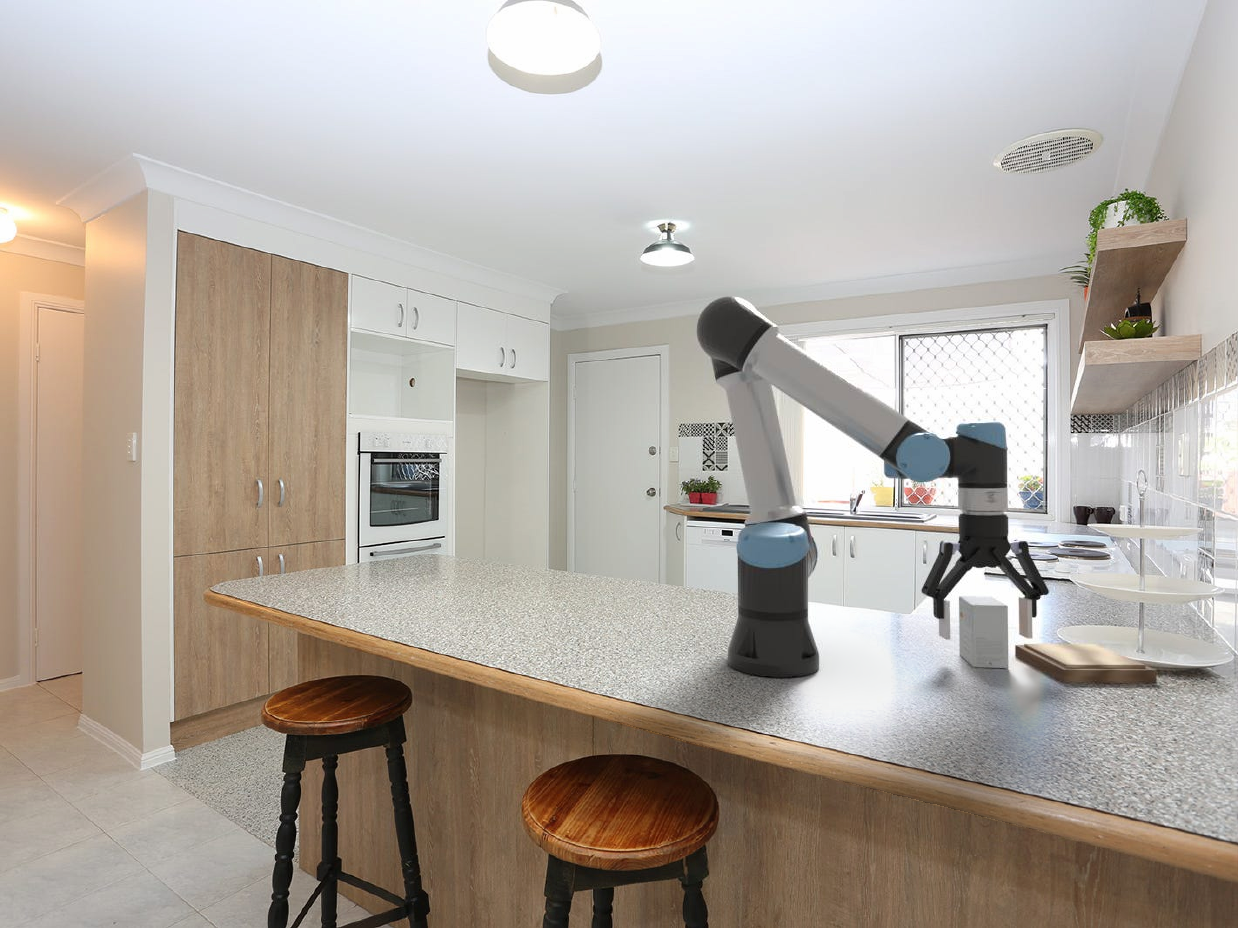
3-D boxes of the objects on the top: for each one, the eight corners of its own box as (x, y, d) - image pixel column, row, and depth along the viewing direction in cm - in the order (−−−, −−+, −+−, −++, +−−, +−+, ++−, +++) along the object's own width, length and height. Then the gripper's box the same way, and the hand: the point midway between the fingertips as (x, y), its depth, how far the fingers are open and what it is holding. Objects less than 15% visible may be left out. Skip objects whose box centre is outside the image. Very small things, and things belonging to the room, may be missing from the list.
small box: (1009, 669, 114) (1008, 605, 114) (972, 667, 115) (972, 604, 115) (993, 655, 122) (992, 596, 122) (958, 654, 123) (958, 595, 123)
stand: (1063, 682, 107) (1063, 666, 107) (1015, 656, 121) (1015, 642, 121) (1156, 682, 107) (1156, 666, 107) (1097, 656, 121) (1097, 642, 121)
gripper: (917, 515, 115) (919, 643, 115) (1071, 513, 114) (1073, 641, 114) (900, 512, 123) (902, 632, 123) (1044, 509, 122) (1047, 630, 122)
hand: (985, 637), depth 118 cm, fingers open, 13 cm apart
